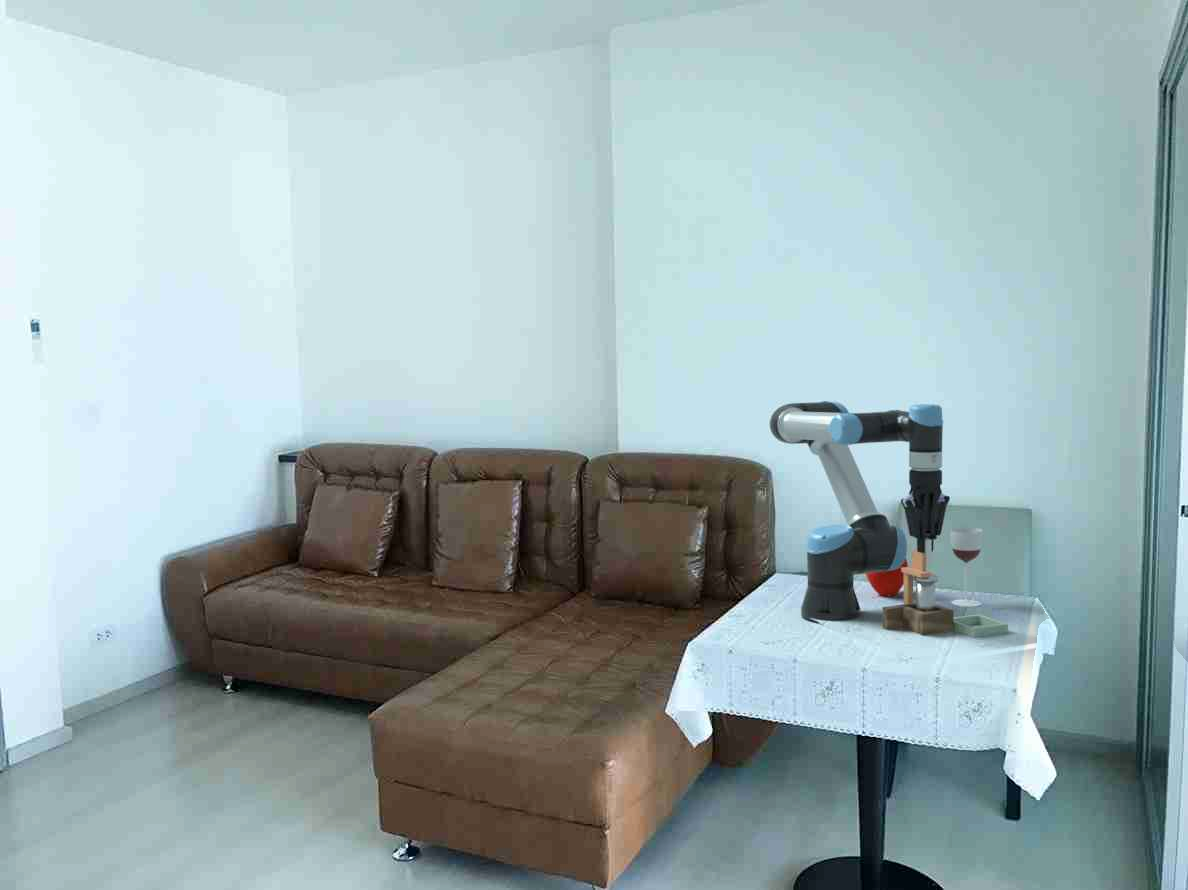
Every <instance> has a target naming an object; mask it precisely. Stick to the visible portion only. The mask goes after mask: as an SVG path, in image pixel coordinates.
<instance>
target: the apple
mask: <svg viewBox="0 0 1188 890" xmlns="http://www.w3.org/2000/svg"><path fill="white" fill-rule="evenodd" d="M903 567H909V565H908V561H907V557H906V558H905V560H904V563H903V564H902V565H901V566H900V567H899V568H898V569H896V570H891V571H887V572H877V573H866V574H865V575H866V578H867V581H868V582H869V584H870V586H871V587H872V589H873V590H874V591H875V592H876V593H877V594H878V595H880V596H883V597H892V596H895V595H898V593H899V592H900V591H901V589H902V588H903V587H904V572H901V568H903Z"/></svg>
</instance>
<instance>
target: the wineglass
mask: <svg viewBox="0 0 1188 890" xmlns="http://www.w3.org/2000/svg"><path fill="white" fill-rule="evenodd" d="M983 532H984V531H983V529H982V528H977V527H969V526H968V527H966V526H965V527H964V526H961V527H960V526H959V527H952V528H950V544H951V548H952V552H953V555H954V556H955V557H956V558H958V559H959V560H961V561H963V562H964V599H963V598H962V599H953V600H951V604H953V605H956V606H961V607H978V606H981V605H982V603H981V602H980V601H977V600H972V599H969V598H968V595H969V593H968V591H969V587H968V586H969V578H968V577H969V572H968V571H969V568H968V567H969V566H968V565H969V562H971V561H972V560H974V559H975V558H977V557H978V556H979V554H980V552H981V549H982V546H983V545H982V544H983Z"/></svg>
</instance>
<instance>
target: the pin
mask: <svg viewBox="0 0 1188 890" xmlns="http://www.w3.org/2000/svg"><path fill="white" fill-rule="evenodd" d="M913 581H915V603H916V610H919V611H922V612H929V611H935V604H936V583H937V582H938V581H939V576H938V575H937V574H934V573H931V577H924V578H920V577H916V576H913Z"/></svg>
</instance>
